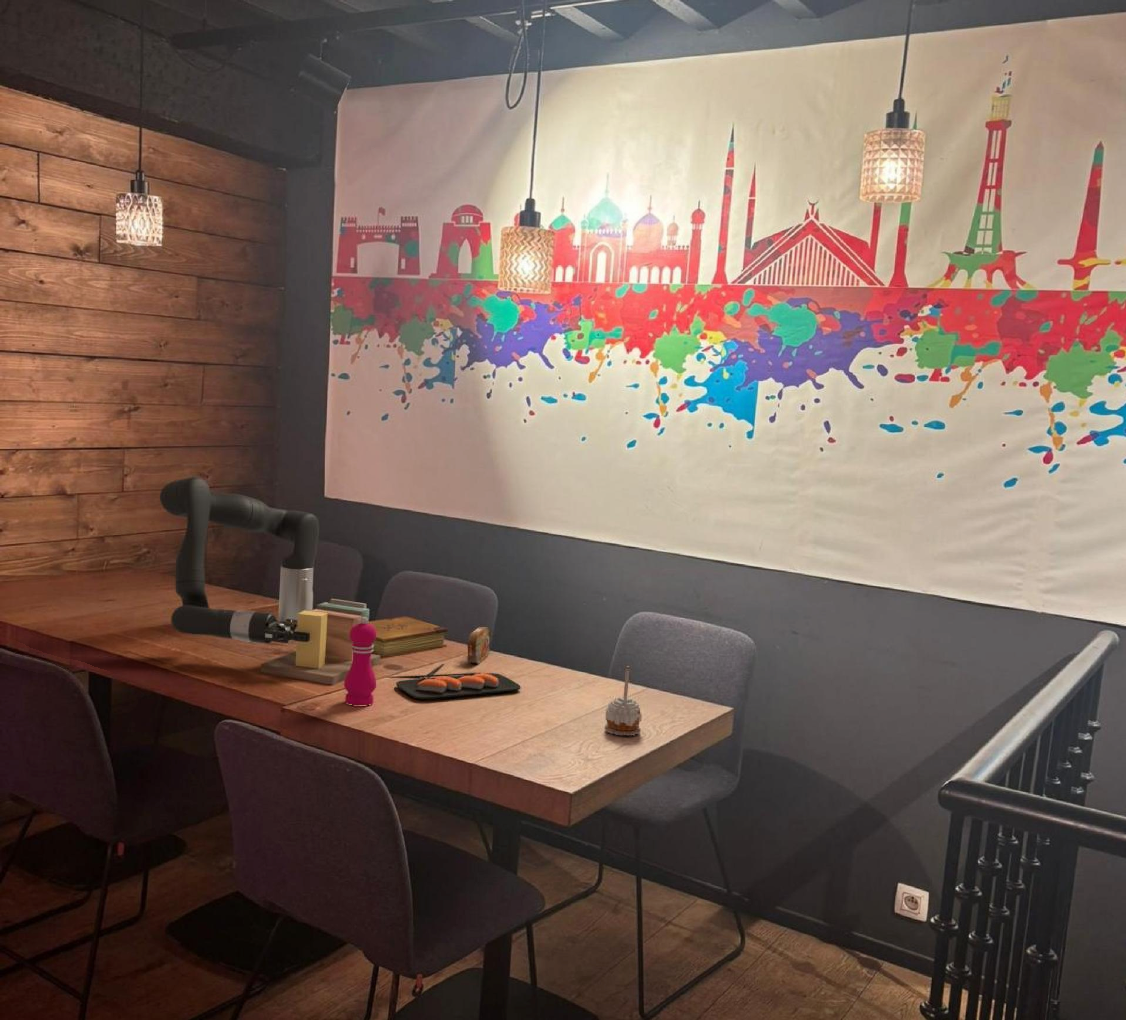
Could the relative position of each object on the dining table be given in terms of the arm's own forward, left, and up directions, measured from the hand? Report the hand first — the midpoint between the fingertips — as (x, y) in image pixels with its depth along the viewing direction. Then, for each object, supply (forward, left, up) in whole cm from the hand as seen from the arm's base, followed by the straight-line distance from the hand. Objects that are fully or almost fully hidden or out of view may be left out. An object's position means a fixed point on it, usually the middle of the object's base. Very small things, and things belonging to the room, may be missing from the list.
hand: (315, 633), depth 267 cm
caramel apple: (+3, +80, -10) cm, 81 cm away
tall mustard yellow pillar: (0, -1, -8) cm, 8 cm away
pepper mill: (+15, +21, -10) cm, 28 cm away
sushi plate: (-12, +30, -11) cm, 34 cm away
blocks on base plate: (-6, -1, -10) cm, 12 cm away
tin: (-36, +29, -10) cm, 47 cm away
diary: (-37, +3, -11) cm, 38 cm away
